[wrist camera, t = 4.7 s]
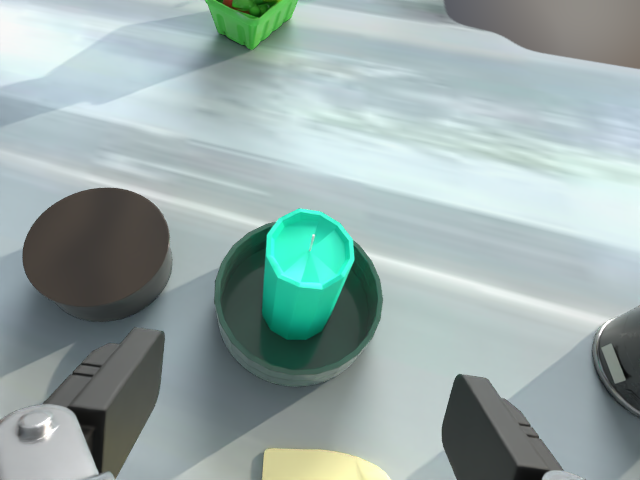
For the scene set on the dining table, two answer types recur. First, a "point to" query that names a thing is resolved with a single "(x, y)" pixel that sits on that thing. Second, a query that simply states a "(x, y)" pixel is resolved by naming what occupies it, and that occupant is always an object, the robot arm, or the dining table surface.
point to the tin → (272, 349)
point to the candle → (304, 272)
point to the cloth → (317, 466)
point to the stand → (99, 254)
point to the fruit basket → (250, 18)
